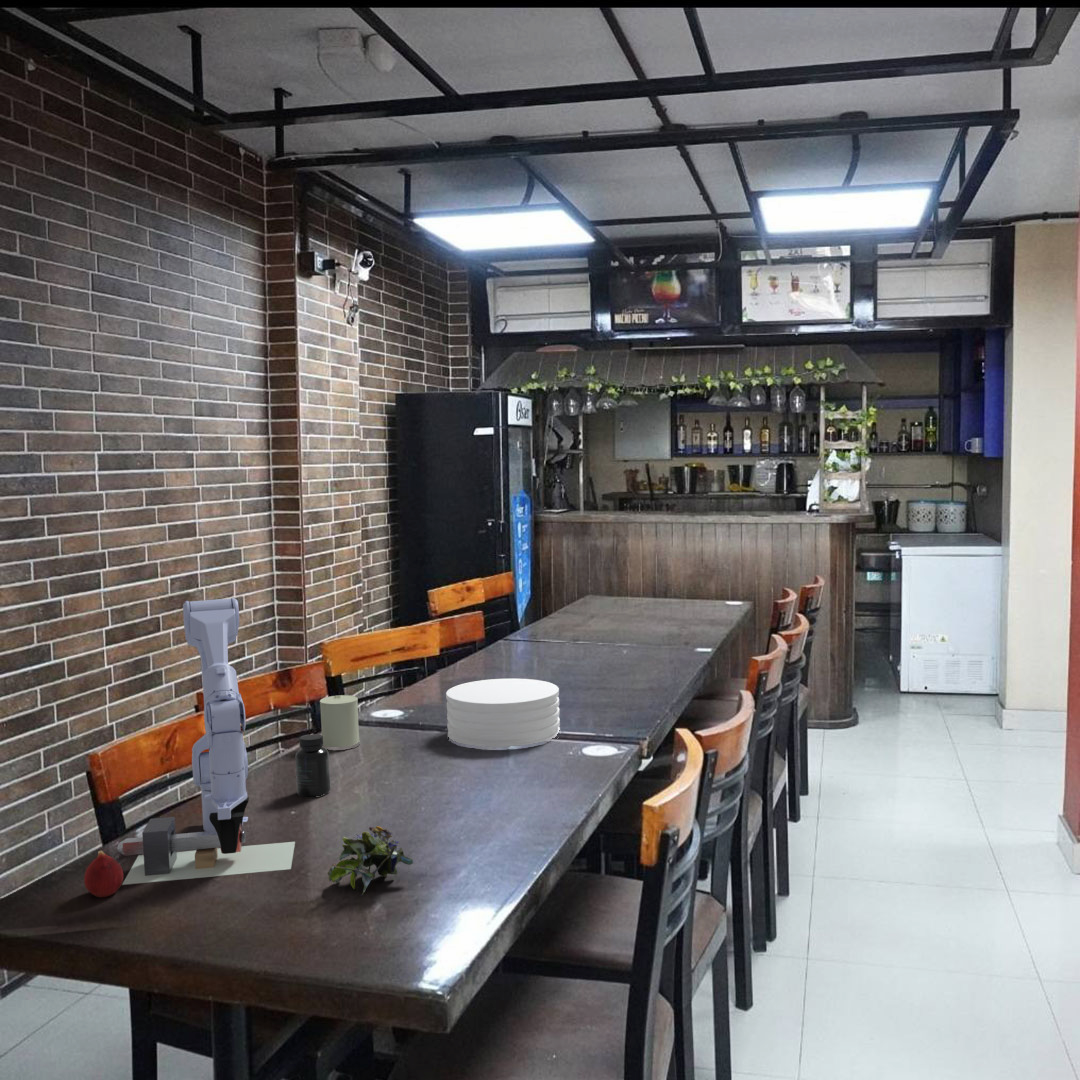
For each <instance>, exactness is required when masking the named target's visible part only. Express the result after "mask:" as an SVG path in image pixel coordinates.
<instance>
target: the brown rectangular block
mask: <svg viewBox="0 0 1080 1080" xmlns="http://www.w3.org/2000/svg"><path fill="white" fill-rule="evenodd" d="M217 849H218V847H217V848H206V849H195V850H196V853H195V869H201V868H212V867H214V866H215V863H216V860H217V857H218V853H217Z"/></svg>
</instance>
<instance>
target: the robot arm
mask: <svg viewBox="0 0 1080 1080" xmlns="http://www.w3.org/2000/svg"><path fill="white" fill-rule="evenodd" d="M182 615H183V627H184V629H183V630H184V636H185V640H186V644H187V645H188V646H191V647H194V648H196V650H197V653H198V654H199V656H200V665H201V677H202V678H201V679H202V691H203V706H204V707H203V717H204V718H203V720H204V730H205V734H204V735H202V737H200V738H199V739H198V740H197V741H196V742H195V743H194V744H193V746H192V747H191V752H192V755H191V765H192V766H191V767H192V779H193V785H195V786H196V787H200V792H201V810H202V811H201V813H202V824H203V825H202V826H203V827H202V828H203V830H204V831H203V832H207V831H216V832H217V835H218V838H219V841H220V845H221V847H220V848H222V851H223V854H229V853H236V850H237V845H238V835H239V828H240V823H241V829H242V830H243V825H244V823H247V822H248V820H249V817H248V816H245V811H246V808H247V806H248V803H249V801H250V797H249V796H248V791H247V786H246V785H247V784H246V783H247V782H246V780H247V778H248V777H249V764H248V763H249V762H248V761H249V760H248V753H247V749H246V743H245V741H244V733H245V731H246V730H245V729H246V726H247V725H246V724H247V723H246V708H245V704H244V701H243V698H242V694H241V693H239V692H240V691H239V685H238V684H239V683H238V677H237V670H236V669H235V668H234V667H233V666H232V665H230V664H229V653H228V652H229V648H228V645H230V644H232V643H234V642H235V641H237V636H238V635H239V627H240V609H239V600H237V599H236V598H235V597H230V598H218V599H208V600H207V599H206V600H205V599H204V600H203V599H202V600H193V601H192V600H191V601H189V600H185V601H184V602H183V604H182ZM241 729H242V730H241ZM243 732H244V733H243ZM205 750H208V751H205Z"/></svg>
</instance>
